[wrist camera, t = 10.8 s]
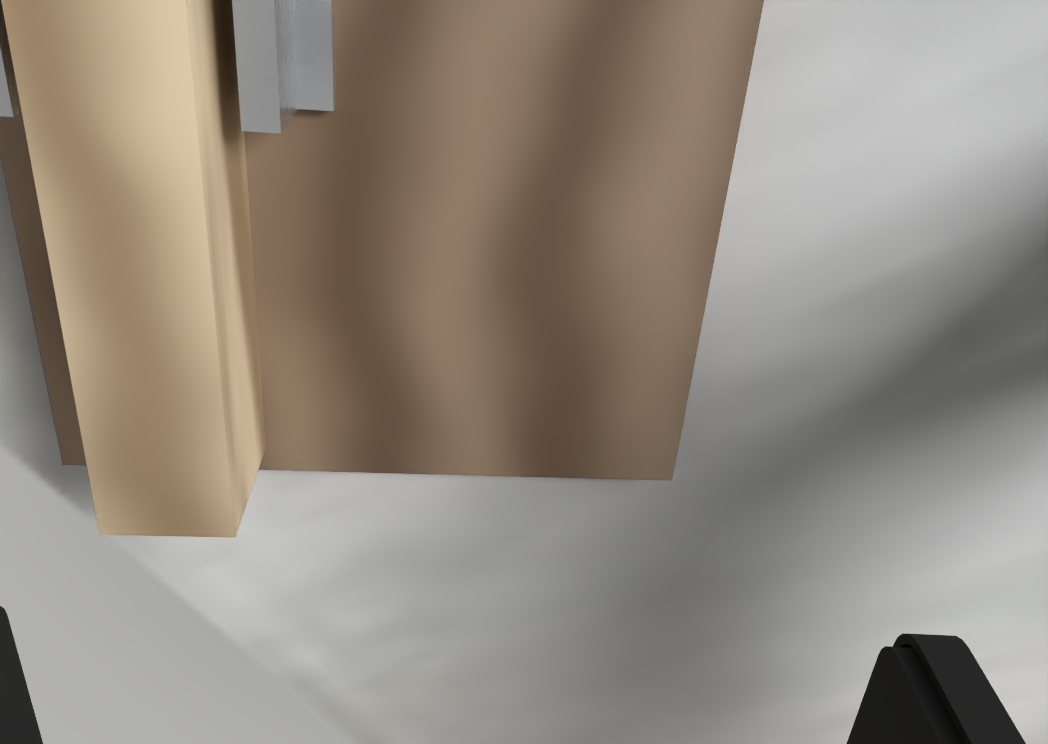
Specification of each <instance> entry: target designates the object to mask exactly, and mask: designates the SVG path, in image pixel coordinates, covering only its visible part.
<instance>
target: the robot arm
mask: <svg viewBox="0 0 1048 744" xmlns="http://www.w3.org/2000/svg"><path fill="white" fill-rule="evenodd" d="M0 744H43V742H42V738H41V735H40V731H39V728H38V724H37V720H36V717H35V713H34V709H33V706H32V702H31V699H30V695H29V692H28V688H27V684H26V681H25V677H24V673H23V670H22V666H21V663H20V659H19V655H18V652H17V648H16V645H15V641H14V638H13V634H12V630H11V627H10V623H9V619H8V616H7V613H6V611H5V609H4V608H2V607H1V606H0ZM847 744H1026V743H1025V742H1024V740H1023V738H1022V737H1021V735H1020V733H1019V732H1018V730H1017V728H1016V727H1015V725H1014V723H1013V721H1012V720H1011V718H1010V716H1009V715H1008V713H1007V711H1006V710H1005V708H1004V706H1003V705H1002V703H1001V701H1000V700H999V698H998V696H997V695H996V693H995V691H994V690H993V688H992V686H991V685H990V683H989V681H988V680H987V678H986V676H985V674H984V673H983V671H982V669H981V668H980V666H979V664H978V663H977V661H976V659H975V658H974V656H973V654H972V653H971V651H970V649H969V648H968V646H967V645H966V644H965V643H964V641H963V640H962V639H960V638H958V637H957V636H945V635H923V634H902V635H900V636H899V637H898V638H897V639H896V641H895V643H894V645H893V647H884V648H883V649H881V651H880V653H879V655H878V658H877V661H876V663H875V666H874V669H873V672H872V675H871V677H870V680H869V683H868V686H867V689H866V691H865V694H864V697H863V700H862V702H861V705H860V708H859V711H858V714H857V716H856V719H855V722H854V725H853V728H852V730H851V733H850V736H849V739H848V741H847Z"/></svg>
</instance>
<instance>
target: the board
mask: <svg viewBox="0 0 1048 744" xmlns="http://www.w3.org/2000/svg"><path fill="white" fill-rule="evenodd" d="M763 2H764V0H334V31H335V78H336V108H335V110H334V111H322V110H306V109H298V110H297V112H296V113H295V114H294V116H293V117H292V119H291V120H290V121H289V123H288V124H287V126H286V127H285V129H284V130H283V131H282V133H281V134H280V133H264V132H247V131H244V134H245V149H246V164H247V178H248V193H249V208H250V223H251V237H252V252H253V267H254V281H255V296H256V311H257V325H258V340H259V355H260V369H261V384H262V399H263V413H264V428H265V443H266V448H265V451H264V454H263V457H262V460H261V463H260V466H259V469H258V470H293V471H331V472H369V473H407V474H446V475H484V476H522V477H560V478H599V479H637V480H672V477H673V472H674V466H675V461H676V456H677V451H678V445H679V440H680V435H681V430H682V425H683V419H684V414H685V409H686V404H687V399H688V393H689V388H690V383H691V378H692V372H693V367H694V362H695V357H696V352H697V346H698V341H699V336H700V331H701V325H702V320H703V315H704V310H705V305H706V299H707V294H708V289H709V284H710V279H711V273H712V268H713V263H714V258H715V252H716V247H717V242H718V237H719V232H720V226H721V221H722V216H723V211H724V206H725V200H726V195H727V190H728V185H729V179H730V174H731V169H732V164H733V159H734V153H735V148H736V143H737V138H738V132H739V127H740V122H741V117H742V112H743V106H744V101H745V96H746V91H747V86H748V80H749V75H750V70H751V65H752V59H753V54H754V49H755V44H756V39H757V33H758V28H759V23H760V18H761V13H762V7H763ZM0 156H1V161H2V166H3V171H4V176H5V181H6V186H7V191H8V196H9V201H10V206H11V211H12V216H13V221H14V226H15V231H16V236H17V241H18V245H19V250H20V255H21V260H22V265H23V270H24V275H25V280H26V285H27V290H28V295H29V300H30V305H31V310H32V315H33V320H34V325H35V330H36V335H37V340H38V345H39V350H40V355H41V360H42V364H43V369H44V374H45V379H46V384H47V389H48V394H49V399H50V404H51V409H52V414H53V419H54V424H55V429H56V434H57V439H58V444H59V449H60V454H61V459H62V464H63V465H87V464H86V458H85V453H84V448H83V442H82V437H81V431H80V426H79V420H78V415H77V409H76V404H75V399H74V393H73V388H72V382H71V377H70V371H69V366H68V361H67V355H66V350H65V344H64V339H63V333H62V328H61V323H60V317H59V312H58V306H57V301H56V295H55V290H54V284H53V279H52V274H51V268H50V263H49V257H48V252H47V246H46V241H45V236H44V230H43V225H42V219H41V214H40V208H39V203H38V198H37V192H36V187H35V181H34V176H33V170H32V165H31V160H30V154H29V149H28V143H27V138H26V132H25V127H24V121H23V116H22V113H20V114H18V115H17V116H15V117H4V116H0Z"/></svg>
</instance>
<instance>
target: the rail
mask: <svg viewBox="0 0 1048 744" xmlns="http://www.w3.org/2000/svg"><path fill="white" fill-rule="evenodd" d="M1 2H2V7H3V13H4V18H5V24H6V29H7V35H8V40H9V45H10V51H11V56H12V62H13V67H14V73H15V78H16V83H17V89H18V94H19V100H20V105H21V111H22V116H23V121H24V127H25V132H26V138H27V143H28V149H29V154H30V160H31V165H32V170H33V176H34V181H35V187H36V192H37V198H38V203H39V208H40V214H41V219H42V225H43V230H44V236H45V241H46V246H47V252H48V257H49V263H50V268H51V274H52V279H53V284H54V290H55V295H56V301H57V306H58V312H59V317H60V323H61V328H62V333H63V339H64V344H65V350H66V355H67V361H68V366H69V371H70V377H71V382H72V388H73V393H74V399H75V404H76V409H77V415H78V420H79V426H80V431H81V437H82V442H83V448H84V453H85V458H86V464H87V469H88V475H89V480H90V486H91V491H92V496H93V502H94V507H95V513H96V518H97V524H98V529H99V534H100V535H145V536H194V537H236V534H237V531H238V528H239V525H240V522H241V519H242V516H243V513H244V510H245V507H246V504H247V501H248V498H249V495H250V492H251V489H252V486H253V484H254V481H255V478H256V475H257V472H258V469H259V466H260V463H261V460H262V457H263V454H264V451H265V448H266V443H265V428H264V413H263V399H262V384H261V369H260V355H259V340H258V325H257V311H256V296H255V281H254V267H253V252H252V237H251V223H250V208H249V193H248V178H247V164H246V149H245V134H244V131H241V119H240V105H239V91H238V77H237V63H236V49H235V35H234V21H233V7H232V0H1Z"/></svg>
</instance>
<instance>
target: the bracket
mask: <svg viewBox="0 0 1048 744" xmlns="http://www.w3.org/2000/svg"><path fill="white" fill-rule="evenodd" d="M232 7H233V21H234V35H235V49H236V63H237V77H238V91H239V105H240V119H241V131H247V132H264V133H280V134H281V133H282V131H283V130H284V129H285V127H286V126H287V124H288V123H289V121H290V120H291V119H292V117H293V116H294V114H295V113H296V112H297V110H298V109H306V110H322V111H334V110H335V108H336V78H335V31H334V0H232ZM20 113H22V111H21V105H20V100H19V94H18V89H17V83H16V78H15V73H14V67H13V62H12V56H11V51H10V45H9V40H8V35H7V29H6V24H5V18H4V13H3V7H2V2H1V0H0V116H4V117H15V116H17V115H18V114H20Z"/></svg>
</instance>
